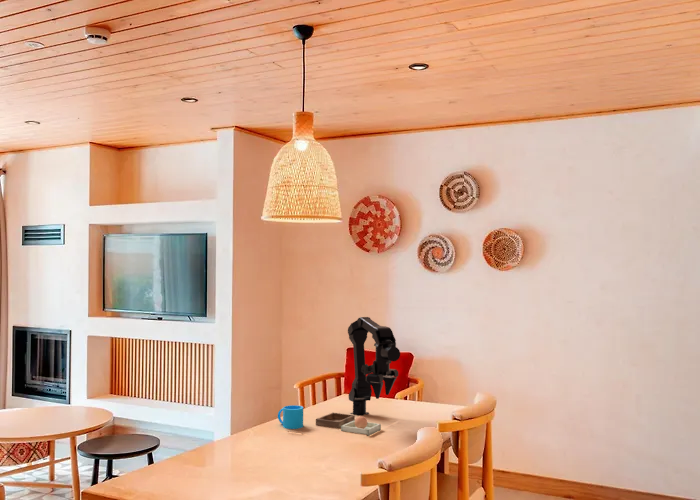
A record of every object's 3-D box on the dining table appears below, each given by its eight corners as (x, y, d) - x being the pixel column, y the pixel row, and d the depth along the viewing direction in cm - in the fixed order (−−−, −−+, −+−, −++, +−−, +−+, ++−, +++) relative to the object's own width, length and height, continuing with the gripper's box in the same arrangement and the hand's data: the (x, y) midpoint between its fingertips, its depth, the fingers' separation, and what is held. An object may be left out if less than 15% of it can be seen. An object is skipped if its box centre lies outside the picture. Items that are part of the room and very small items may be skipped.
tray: (354, 426, 251) (354, 420, 251) (380, 430, 245) (380, 423, 245) (340, 432, 241) (340, 426, 241) (368, 436, 235) (368, 430, 235)
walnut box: (332, 419, 262) (332, 412, 262) (354, 422, 257) (354, 415, 257) (315, 426, 250) (315, 419, 250) (338, 429, 245) (338, 422, 245)
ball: (358, 427, 246) (358, 414, 247) (369, 428, 244) (369, 415, 244) (352, 429, 242) (352, 416, 242) (363, 431, 240) (363, 418, 240)
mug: (307, 427, 249) (307, 407, 249) (294, 431, 242) (294, 410, 242) (284, 423, 255) (284, 403, 256) (271, 427, 249) (271, 406, 249)
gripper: (375, 354, 264) (374, 391, 263) (354, 359, 247) (354, 398, 247) (398, 356, 258) (398, 393, 258) (379, 361, 242) (379, 401, 241)
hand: (382, 396), depth 251 cm, fingers open, 9 cm apart
